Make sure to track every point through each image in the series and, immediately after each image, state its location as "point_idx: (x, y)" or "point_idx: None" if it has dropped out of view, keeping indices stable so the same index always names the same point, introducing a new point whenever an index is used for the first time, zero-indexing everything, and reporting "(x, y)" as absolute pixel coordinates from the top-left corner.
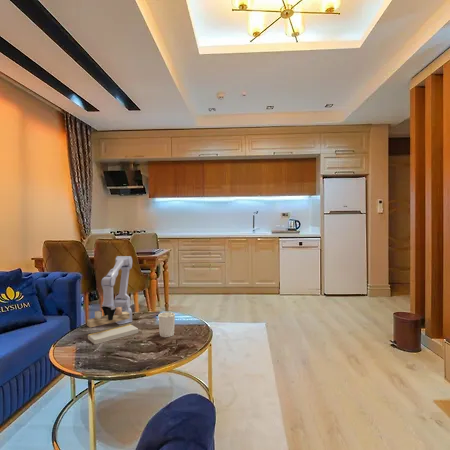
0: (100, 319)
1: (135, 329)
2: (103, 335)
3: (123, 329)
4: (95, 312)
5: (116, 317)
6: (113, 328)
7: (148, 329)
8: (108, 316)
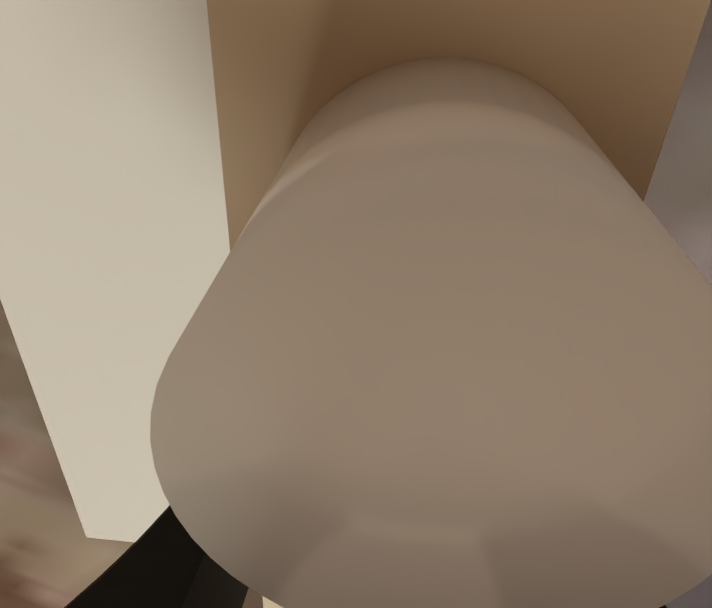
0: (232, 228)
1: (76, 507)
2: (44, 41)
3: None
4: (366, 233)
5: None
6: None
7: None
8: None
